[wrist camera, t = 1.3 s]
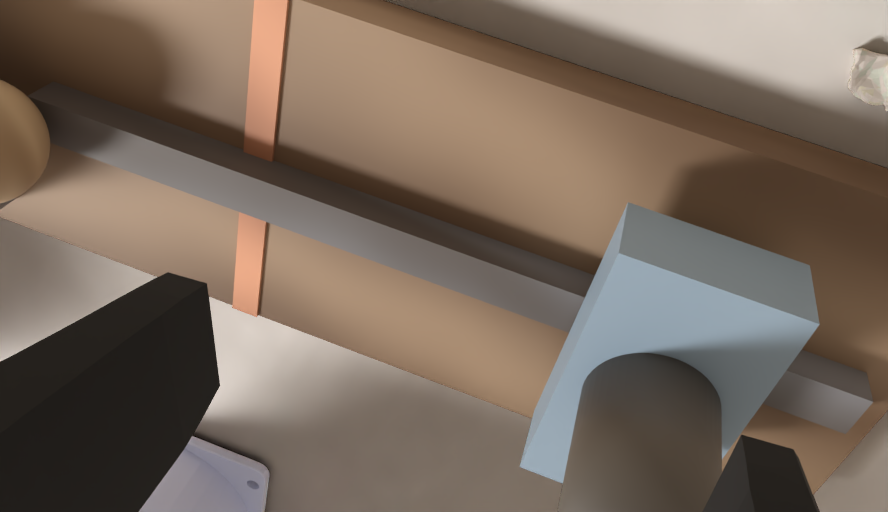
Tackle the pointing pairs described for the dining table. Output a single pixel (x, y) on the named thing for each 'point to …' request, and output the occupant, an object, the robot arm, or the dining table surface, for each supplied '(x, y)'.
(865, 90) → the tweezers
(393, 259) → the press bench
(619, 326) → the handle
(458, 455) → the dining table surface
